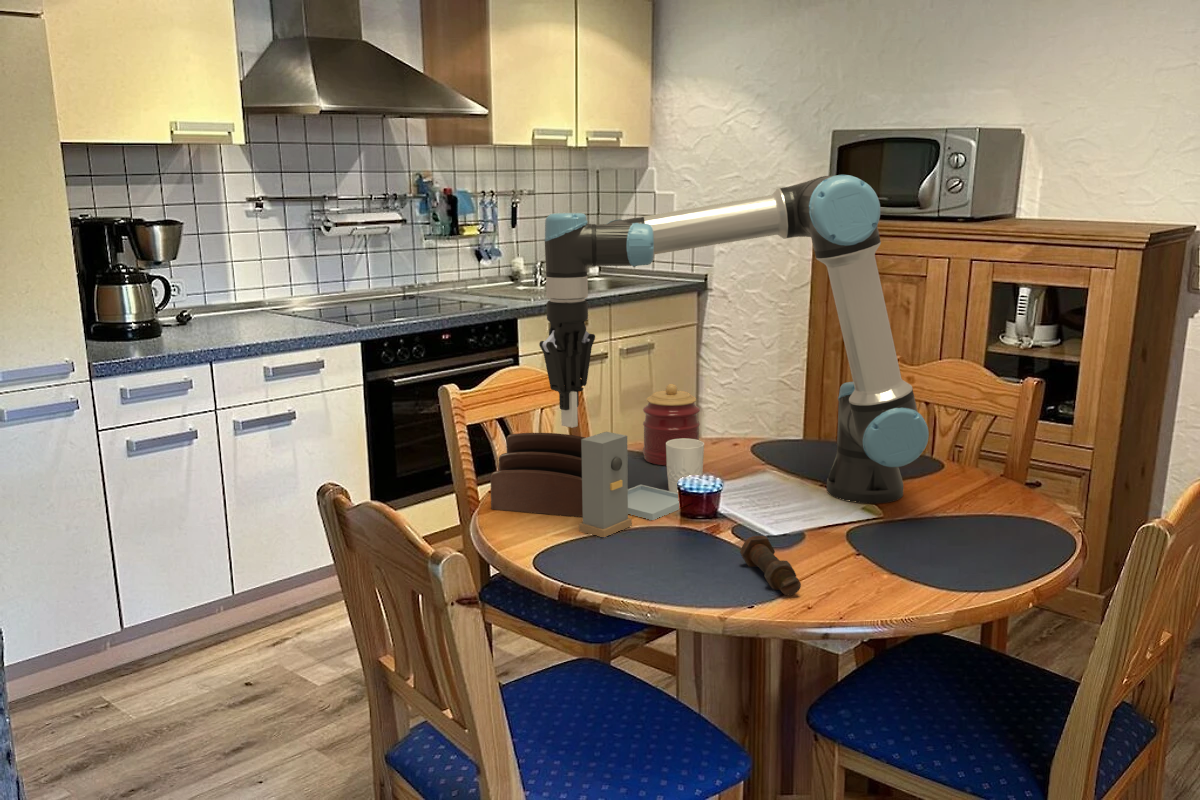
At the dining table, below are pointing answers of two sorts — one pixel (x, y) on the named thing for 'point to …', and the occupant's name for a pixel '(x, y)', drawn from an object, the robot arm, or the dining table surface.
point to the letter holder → (539, 475)
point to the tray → (651, 502)
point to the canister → (668, 421)
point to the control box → (604, 484)
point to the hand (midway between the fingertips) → (569, 425)
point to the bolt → (770, 565)
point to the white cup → (683, 460)
